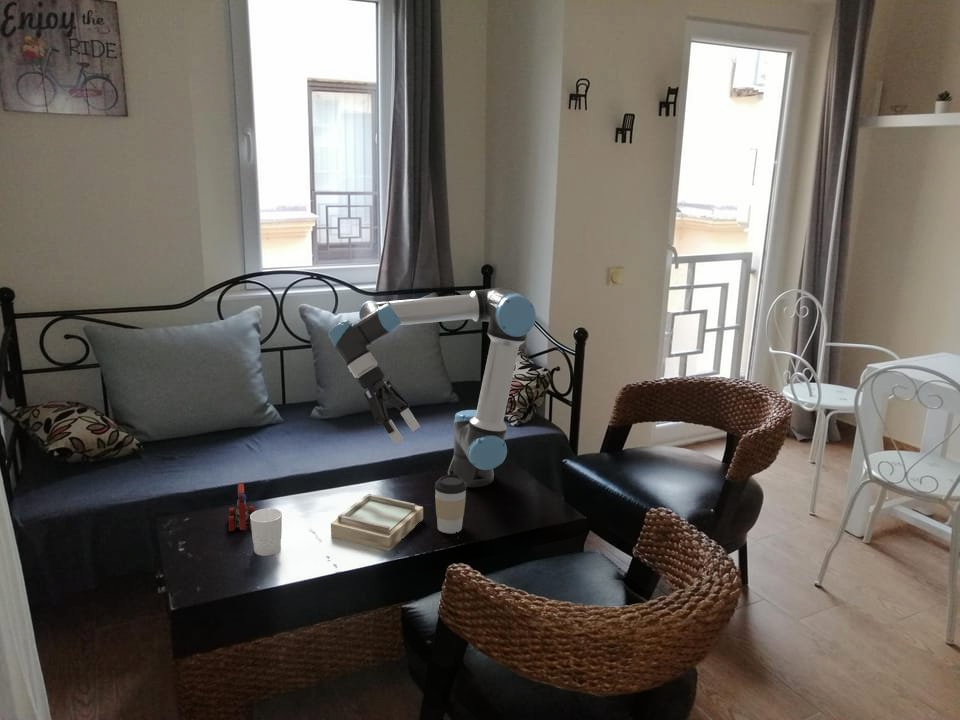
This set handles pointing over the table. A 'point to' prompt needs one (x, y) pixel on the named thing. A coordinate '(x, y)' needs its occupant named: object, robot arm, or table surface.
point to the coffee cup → (450, 503)
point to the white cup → (266, 531)
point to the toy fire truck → (240, 512)
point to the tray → (377, 521)
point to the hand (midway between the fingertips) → (408, 435)
